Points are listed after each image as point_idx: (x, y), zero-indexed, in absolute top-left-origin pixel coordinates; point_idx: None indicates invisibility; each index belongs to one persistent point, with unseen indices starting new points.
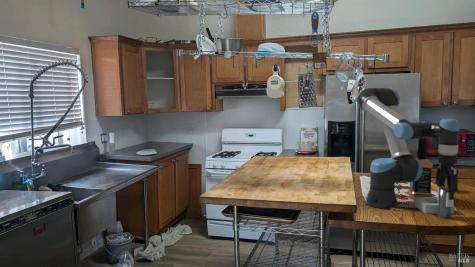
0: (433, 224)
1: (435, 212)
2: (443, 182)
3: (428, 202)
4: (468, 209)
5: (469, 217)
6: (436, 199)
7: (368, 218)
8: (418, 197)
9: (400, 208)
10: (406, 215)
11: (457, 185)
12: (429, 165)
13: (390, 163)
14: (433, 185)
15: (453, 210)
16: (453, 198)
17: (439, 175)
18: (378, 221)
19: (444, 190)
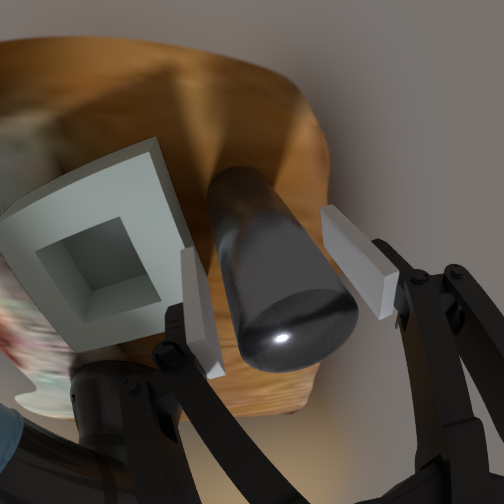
0: (326, 252)
1: (191, 242)
2: (219, 399)
3: (68, 279)
4: (10, 49)
5: (165, 48)
6: (37, 250)
7: (289, 397)
8: (71, 336)
9: (143, 352)
10: (232, 335)
11: (496, 308)
12: None
13: None
14: None
15: (154, 145)
16: (389, 246)
17: (189, 490)
18: (311, 379)
19: (346, 338)
